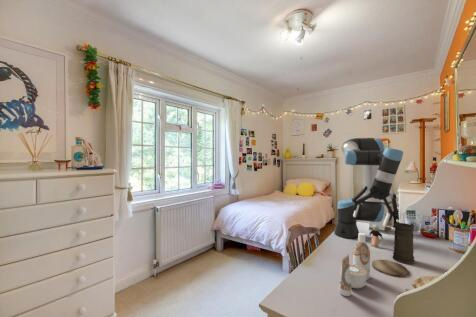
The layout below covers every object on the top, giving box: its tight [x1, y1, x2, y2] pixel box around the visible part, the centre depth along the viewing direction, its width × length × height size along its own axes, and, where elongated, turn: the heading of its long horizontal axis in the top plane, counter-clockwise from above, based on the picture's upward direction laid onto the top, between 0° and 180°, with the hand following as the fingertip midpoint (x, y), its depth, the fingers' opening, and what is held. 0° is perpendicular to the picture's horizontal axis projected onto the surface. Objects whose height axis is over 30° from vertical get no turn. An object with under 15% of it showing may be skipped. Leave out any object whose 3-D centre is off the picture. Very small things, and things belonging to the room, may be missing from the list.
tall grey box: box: [368, 182, 393, 235], centre depth 166 cm, size 11×11×35 cm
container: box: [392, 222, 416, 265], centre depth 118 cm, size 9×9×18 cm
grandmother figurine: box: [368, 225, 384, 249], centre depth 136 cm, size 8×4×13 cm, turn 47°
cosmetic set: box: [338, 232, 371, 297], centre depth 95 cm, size 25×9×19 cm, turn 135°
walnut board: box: [371, 259, 409, 278], centre depth 109 cm, size 14×14×1 cm
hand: (368, 221), depth 114 cm, fingers open, 13 cm apart
